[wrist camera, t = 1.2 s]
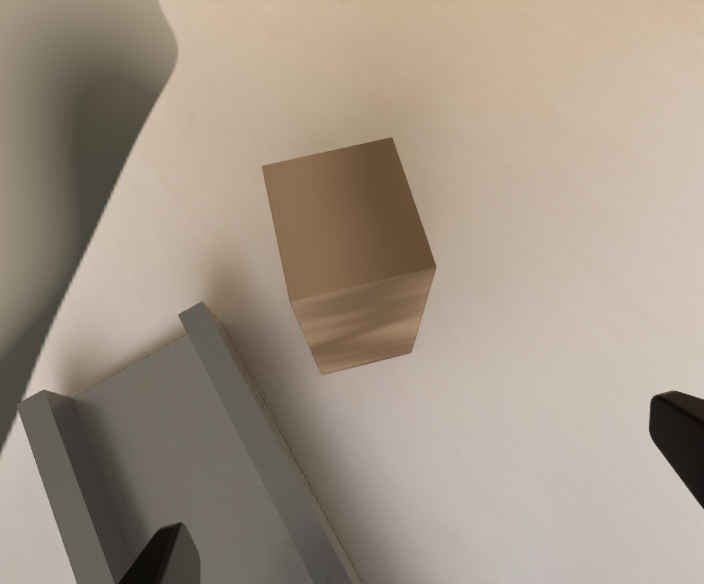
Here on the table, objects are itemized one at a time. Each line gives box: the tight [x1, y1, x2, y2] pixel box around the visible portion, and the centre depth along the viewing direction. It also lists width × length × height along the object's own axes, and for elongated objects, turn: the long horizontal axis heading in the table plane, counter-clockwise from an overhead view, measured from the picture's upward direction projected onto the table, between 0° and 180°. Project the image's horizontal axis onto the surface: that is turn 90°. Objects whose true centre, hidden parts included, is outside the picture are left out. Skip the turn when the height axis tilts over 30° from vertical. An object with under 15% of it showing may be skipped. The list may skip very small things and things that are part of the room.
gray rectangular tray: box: [17, 302, 362, 584], centre depth 19 cm, size 20×9×3 cm, turn 32°
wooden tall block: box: [262, 137, 436, 375], centre depth 20 cm, size 4×5×10 cm
